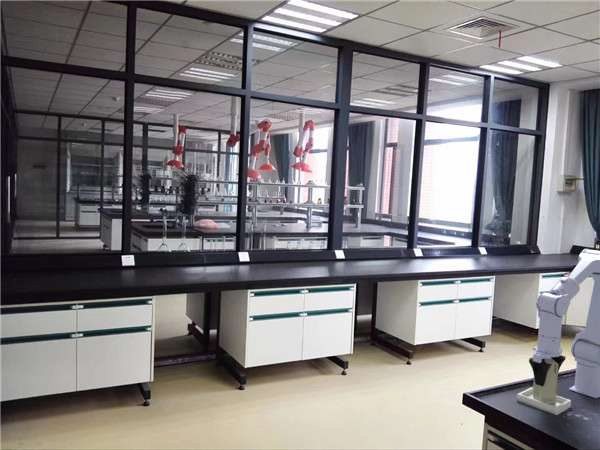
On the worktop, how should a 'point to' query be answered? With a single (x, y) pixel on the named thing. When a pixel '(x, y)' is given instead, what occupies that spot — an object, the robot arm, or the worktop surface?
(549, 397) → the skincare box
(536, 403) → the tray
